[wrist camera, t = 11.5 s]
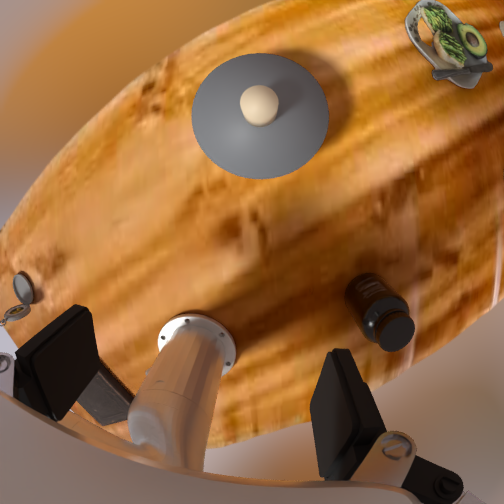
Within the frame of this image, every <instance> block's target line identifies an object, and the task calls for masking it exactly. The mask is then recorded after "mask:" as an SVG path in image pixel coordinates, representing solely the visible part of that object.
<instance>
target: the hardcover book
mask: <svg viewBox="0 0 504 504" xmlns="http://www.w3.org/2000/svg"><path fill="white" fill-rule="evenodd" d="M133 399H134V398H133V397H132V396H131V395H130V394H129V393H128V392H127V391H126V390H125V389H124V388H123V387H122V385H121V384H120V383H119V382H118V381H117V380H116V379H115V378H114V377H113V376H112V375H111V374H110V372H109V371H108V370H107V369H106V368H105V367H104V366H103V365H102V363H101V362H100V369H99V371H98V373H97V374H96V375H95V376H94V378H93V379H92V380H91V382H90V383H89V384H88V386H87V387H86V388H85V390H84V391H83V392H82V394H81V395H80V396H79V398H78V399H77V402H78V403H79V404H80V405H81V406H82V407H83V408H84V409H85V410H86V411H87V412H88V413H89V414H90V415H91V416H92V417H93V418H94V419H95V420H97V421H98V422H99V423H100V424H101V425H102V426H105V425H109V424H113V423H117V422H121V421H125V420H128V411H129V407H130V405H131V403H132V401H133Z"/></svg>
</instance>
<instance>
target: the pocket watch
mask: <svg viewBox="0 0 504 504" xmlns="http://www.w3.org/2000/svg"><path fill="white" fill-rule="evenodd" d="M13 288H14V292H15V294H16V296H17V298H18V299H19V300H20V302H22V303H23V304H21V305H17V306H14V307H12V308H10V309H9V310H8V311H6V313H5V314H4V317H5V319H3V320H2V321H0V323H1V322H2V323H3V322H4V323H5V324H6V321H16V320H19V319H21V318H23V317H25V316H27V315H28V314H29V313H30V311H31V308H30V306H29V304H31V303H32V301H33V291H32V287H31V285H30V283H29V281H28V280H27V278H26V277H25V276H24V275H22V274H17V275H15V276H14V278H13ZM5 324H4V325H5ZM4 325H0V326H4Z"/></svg>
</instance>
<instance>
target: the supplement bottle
mask: <svg viewBox="0 0 504 504" xmlns="http://www.w3.org/2000/svg"><path fill="white" fill-rule="evenodd" d="M345 303H346V306H347V308H348V310H349V312H350V313H351V315H352V317H353V318H354V320H355V322H356V323H357V325H358V327H359V329H360V330H361V332H362V334H363V335H364V336H365V338H366V339H368V340H369V341H371V342H374V343H378V344H379V346H380V347H381V348H382V349H383V350H385V351H388V352H393V351H394V352H395V351H398V350H399V349H402V348H403V347H405V346H406V345H407V344H408V343H409V342H410V340H411V339H412V337H413V335H414V332H415V324H414V322H413V320H412V319H411V318H410V316H409V307H408V304H407V302H406V301H405V300H404V299H403V298H402V297H401V296H400V295H399V294H398V293H397V292H396V291H395V290H394V289H393V288H392V287H391V286H390V285H389V284H388V283H387V282H386V281H385V280H384V279H382V278H381V277H380V276H378V275H376V274H373V273H365V274H362V275H359V276H358V277H356V278H355V279H354V280H352V281H351V283H350V284H349V285H348V287H347V289H346V293H345Z"/></svg>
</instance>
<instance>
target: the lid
mask: <svg viewBox="0 0 504 504" xmlns="http://www.w3.org/2000/svg"><path fill="white" fill-rule="evenodd" d="M328 123H329V110H328V104H327V100H326V97H325V95H324V92H323V90H322V88H321V87H320V85H319V83H318V82H317V81H316V79H315V78H314V77H313V76H312V75H311V74H310V73H309V72H308V71H307V70H306V69H305V68H303V67H302V66H300V65H299V64H297V63H295V62H294V61H292V60H290V59H287V58H284V57H281V56H278V55H273V54H265V53H256V54H247V55H243V56H239V57H236V58H233V59H231V60H229V61H227V62H225V63H223V64H221V65H220V66H218V67H217V68H216V69H214V70H213V71H212V72H211V73H210V74H209V75H208V76H207V77H206V78H205V80H204V81H203V82H202V84H201V85H200V87H199V89H198V91H197V93H196V96H195V99H194V102H193V107H192V126H193V130H194V134H195V137H196V139H197V142H198V143H199V145H200V147H201V149H202V150H203V151H204V153H205V154H206V155H207V156H208V157H209V158H210V159H211V160H212V161H213V162H214V163H215V164H217V165H218V166H219V167H221V168H222V169H224V170H226V171H228V172H230V173H232V174H235V175H238V176H241V177H245V178H252V179H269V178H275V177H280V176H283V175H286V174H289V173H291V172H293V171H295V170H297V169H299V168H300V167H302V166H303V165H305V164H306V163H307V162H308V161H309V160H310V159H311V158H312V157H313V156H314V155H315V154H316V153H317V151H318V150H319V148H320V147H321V145H322V143H323V141H324V139H325V136H326V133H327V129H328Z"/></svg>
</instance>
